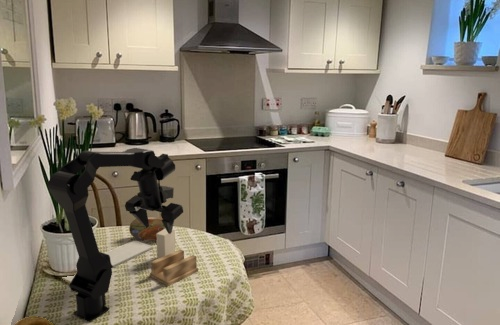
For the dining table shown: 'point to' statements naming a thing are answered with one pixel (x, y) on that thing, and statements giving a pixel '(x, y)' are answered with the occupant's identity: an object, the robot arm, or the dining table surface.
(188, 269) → the wooden slotted stand
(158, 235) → the off-white rectangular block
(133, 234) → the tin
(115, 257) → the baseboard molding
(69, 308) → the dining table surface
